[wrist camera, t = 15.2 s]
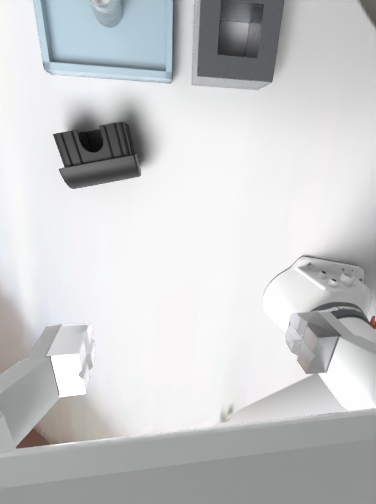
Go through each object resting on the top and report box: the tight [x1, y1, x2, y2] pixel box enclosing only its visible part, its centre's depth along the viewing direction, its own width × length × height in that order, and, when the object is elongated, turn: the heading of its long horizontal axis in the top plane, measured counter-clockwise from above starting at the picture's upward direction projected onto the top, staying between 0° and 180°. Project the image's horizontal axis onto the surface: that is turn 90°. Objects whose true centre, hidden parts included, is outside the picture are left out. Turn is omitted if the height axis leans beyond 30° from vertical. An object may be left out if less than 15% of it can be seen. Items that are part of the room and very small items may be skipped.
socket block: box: [192, 0, 284, 90], centre depth 32 cm, size 10×10×5 cm
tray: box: [33, 0, 173, 83], centre depth 30 cm, size 16×14×2 cm
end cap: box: [53, 122, 141, 189], centre depth 35 cm, size 10×7×7 cm
